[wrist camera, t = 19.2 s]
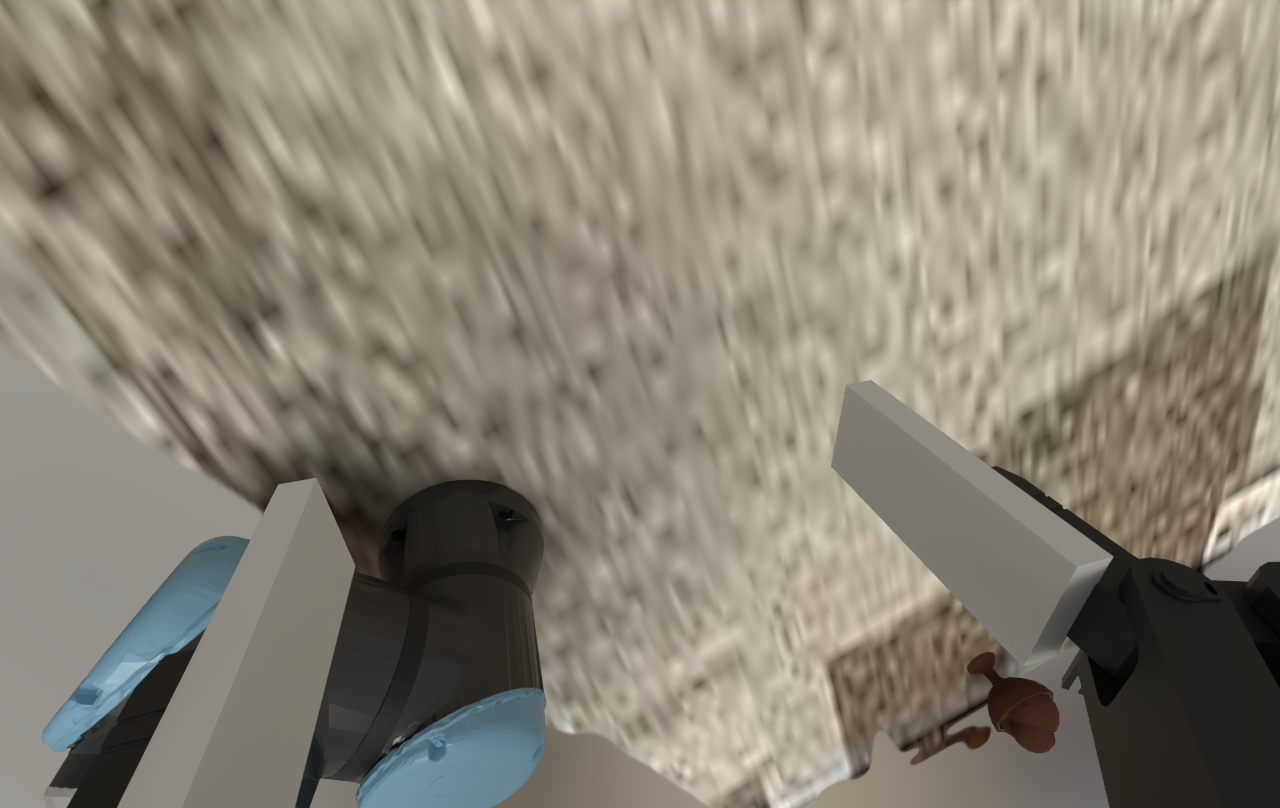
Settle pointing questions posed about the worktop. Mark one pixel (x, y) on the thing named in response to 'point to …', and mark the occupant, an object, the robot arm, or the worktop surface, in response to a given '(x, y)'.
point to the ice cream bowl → (1019, 707)
